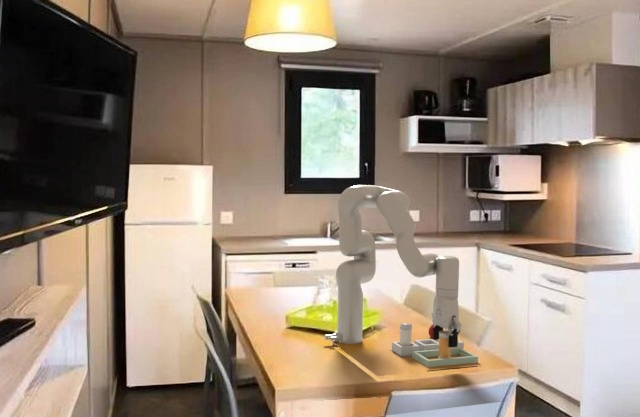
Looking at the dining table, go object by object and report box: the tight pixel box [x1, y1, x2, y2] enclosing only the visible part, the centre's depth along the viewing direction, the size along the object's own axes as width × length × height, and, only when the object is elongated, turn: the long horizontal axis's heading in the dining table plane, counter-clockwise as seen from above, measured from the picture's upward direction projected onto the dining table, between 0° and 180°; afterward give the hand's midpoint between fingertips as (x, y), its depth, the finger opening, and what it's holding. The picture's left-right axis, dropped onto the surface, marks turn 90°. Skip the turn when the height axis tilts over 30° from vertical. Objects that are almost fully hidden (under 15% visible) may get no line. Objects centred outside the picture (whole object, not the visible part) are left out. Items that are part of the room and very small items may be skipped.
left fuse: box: [399, 322, 413, 346], centre depth 216 cm, size 4×4×10 cm
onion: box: [428, 323, 445, 339], centre depth 237 cm, size 6×6×8 cm
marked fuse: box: [437, 330, 452, 359], centre depth 208 cm, size 4×4×10 cm
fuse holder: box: [389, 338, 465, 358], centre depth 219 cm, size 26×9×4 cm, turn 109°
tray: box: [411, 348, 479, 372], centre depth 208 cm, size 19×11×4 cm, turn 109°
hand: (445, 342), depth 208 cm, fingers open, 9 cm apart
